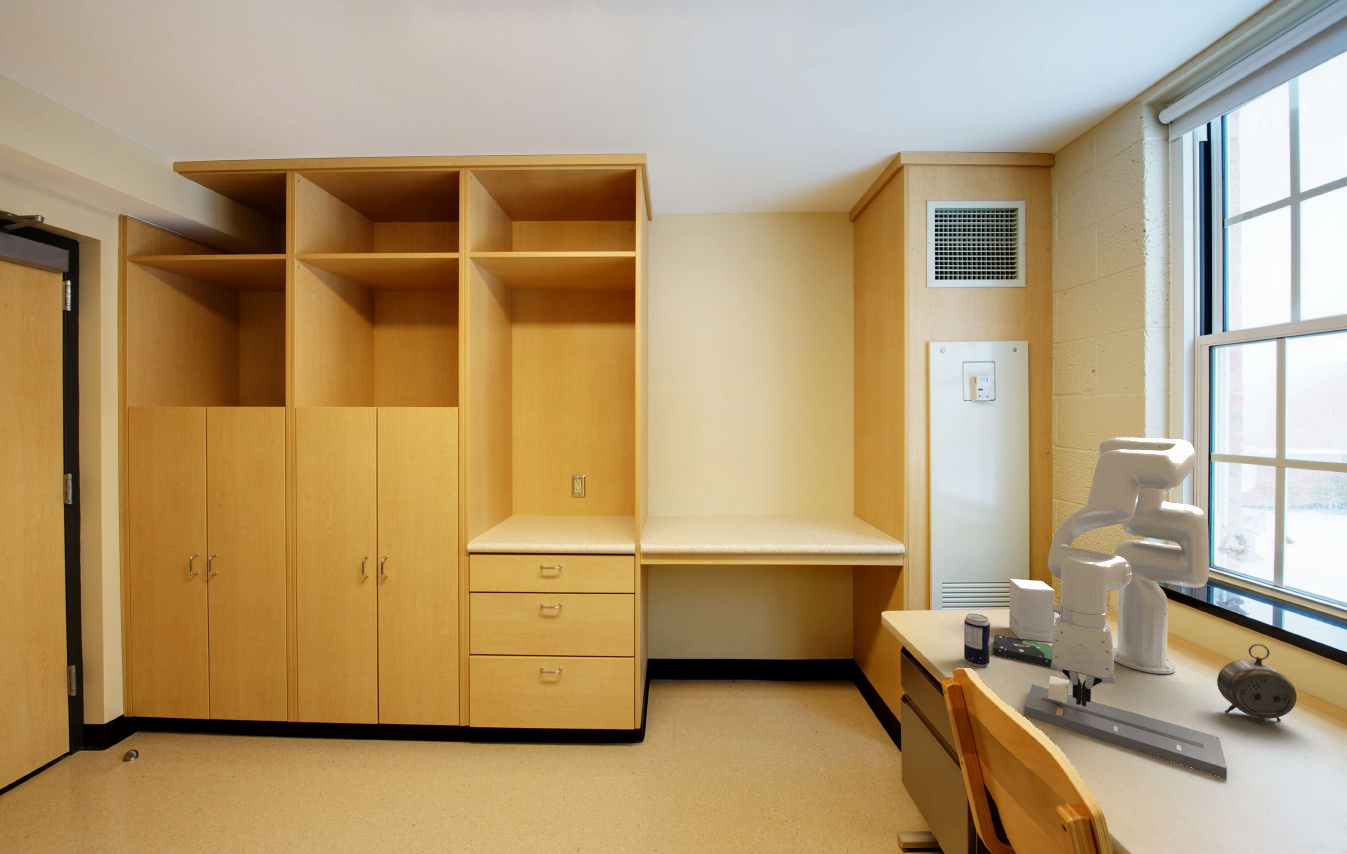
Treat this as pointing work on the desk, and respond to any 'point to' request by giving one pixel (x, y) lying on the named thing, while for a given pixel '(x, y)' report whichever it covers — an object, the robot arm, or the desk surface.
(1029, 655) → the disk drive
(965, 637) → the beverage can
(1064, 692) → the fader knob
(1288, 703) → the alarm clock
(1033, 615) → the supplement box
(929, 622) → the desk surface
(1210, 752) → the fader console
